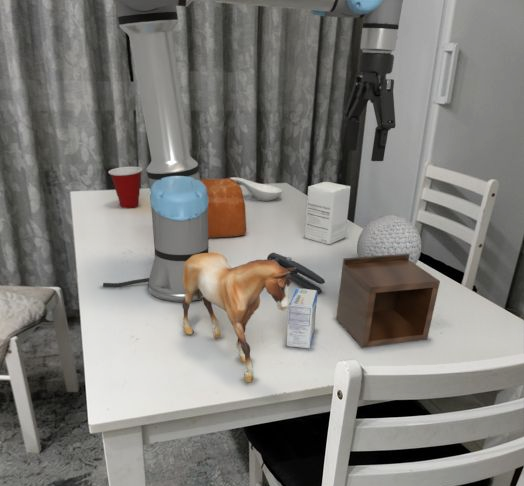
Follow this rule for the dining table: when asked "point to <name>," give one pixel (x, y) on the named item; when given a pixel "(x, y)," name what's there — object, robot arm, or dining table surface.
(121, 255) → the dining table surface
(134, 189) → the plastic cup
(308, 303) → the medicine box
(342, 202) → the white product box
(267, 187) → the spoon rest
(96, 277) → the dining table surface
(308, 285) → the can opener
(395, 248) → the decorative ball
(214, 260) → the horse figurine
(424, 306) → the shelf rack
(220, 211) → the bread
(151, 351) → the dining table surface
